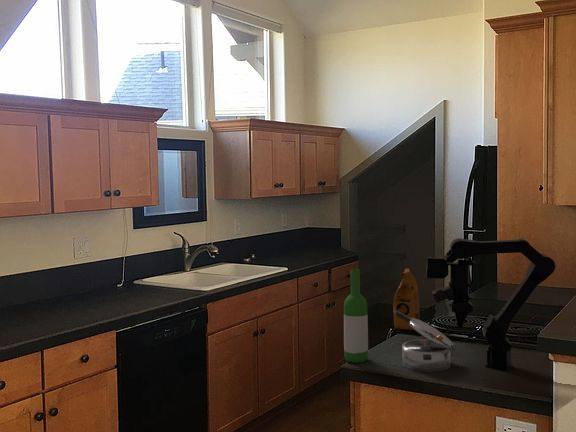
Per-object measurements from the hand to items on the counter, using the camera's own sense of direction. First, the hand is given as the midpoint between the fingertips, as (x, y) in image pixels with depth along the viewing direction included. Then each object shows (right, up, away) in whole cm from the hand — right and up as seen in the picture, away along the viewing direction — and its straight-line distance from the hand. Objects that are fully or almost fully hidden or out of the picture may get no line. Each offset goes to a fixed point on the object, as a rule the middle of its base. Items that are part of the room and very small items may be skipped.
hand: (459, 328), depth 205 cm
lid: (-11, -1, +2) cm, 11 cm away
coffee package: (-8, -8, +50) cm, 51 cm away
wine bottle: (-32, -12, +9) cm, 35 cm away
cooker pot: (-10, -12, +3) cm, 16 cm away
